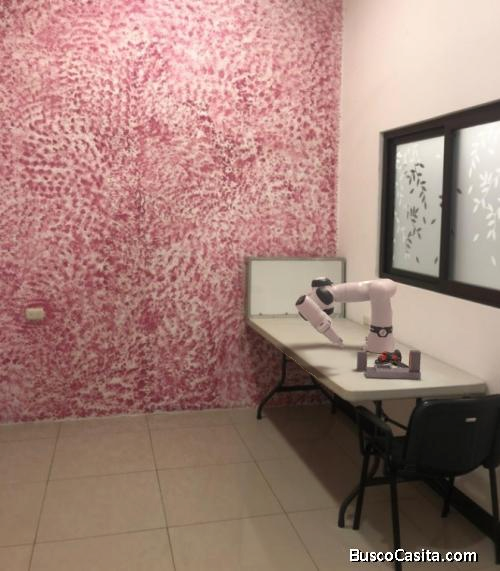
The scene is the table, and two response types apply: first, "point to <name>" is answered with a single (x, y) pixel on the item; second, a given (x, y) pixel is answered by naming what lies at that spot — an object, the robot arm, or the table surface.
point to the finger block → (361, 360)
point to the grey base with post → (397, 369)
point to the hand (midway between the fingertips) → (342, 344)
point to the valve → (391, 358)
